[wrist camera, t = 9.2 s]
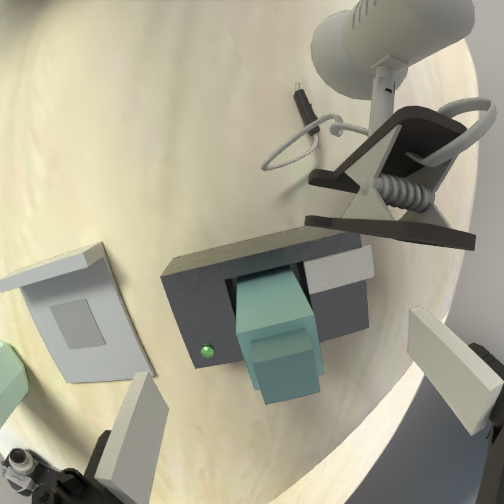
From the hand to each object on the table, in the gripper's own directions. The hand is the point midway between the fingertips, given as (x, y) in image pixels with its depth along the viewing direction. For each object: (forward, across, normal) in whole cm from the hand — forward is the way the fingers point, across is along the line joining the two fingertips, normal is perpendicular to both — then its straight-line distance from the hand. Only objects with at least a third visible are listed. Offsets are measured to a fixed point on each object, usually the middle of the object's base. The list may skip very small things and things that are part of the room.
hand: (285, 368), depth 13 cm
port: (+12, 0, -1) cm, 12 cm away
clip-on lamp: (+13, +6, +11) cm, 18 cm away
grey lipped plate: (+12, -19, -1) cm, 23 cm away
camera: (+12, -49, -27) cm, 57 cm away
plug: (+12, 0, -1) cm, 12 cm away
